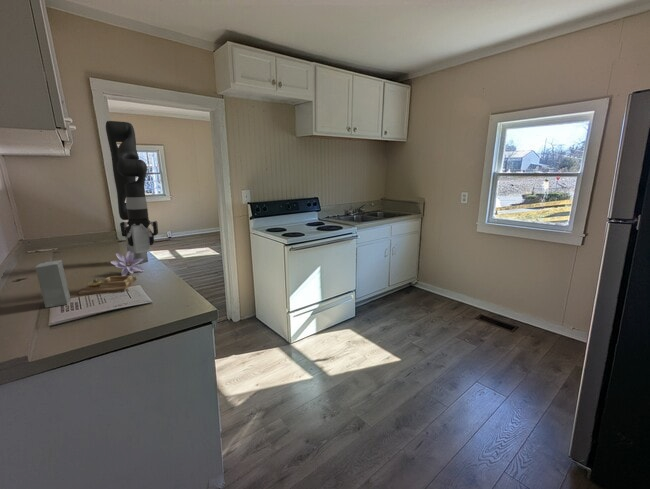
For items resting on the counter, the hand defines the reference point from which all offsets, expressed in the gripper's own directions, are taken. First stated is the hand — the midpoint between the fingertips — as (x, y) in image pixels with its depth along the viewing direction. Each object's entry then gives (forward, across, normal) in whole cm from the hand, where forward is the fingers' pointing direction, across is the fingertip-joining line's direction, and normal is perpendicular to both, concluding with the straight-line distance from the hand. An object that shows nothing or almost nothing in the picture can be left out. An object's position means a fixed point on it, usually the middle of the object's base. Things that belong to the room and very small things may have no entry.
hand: (141, 245), depth 133 cm
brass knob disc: (+16, +19, +1) cm, 25 cm away
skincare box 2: (+3, 0, 0) cm, 3 cm away
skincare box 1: (+18, +26, +16) cm, 35 cm away
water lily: (+18, +12, -18) cm, 28 cm away
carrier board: (+18, +14, +1) cm, 22 cm away
